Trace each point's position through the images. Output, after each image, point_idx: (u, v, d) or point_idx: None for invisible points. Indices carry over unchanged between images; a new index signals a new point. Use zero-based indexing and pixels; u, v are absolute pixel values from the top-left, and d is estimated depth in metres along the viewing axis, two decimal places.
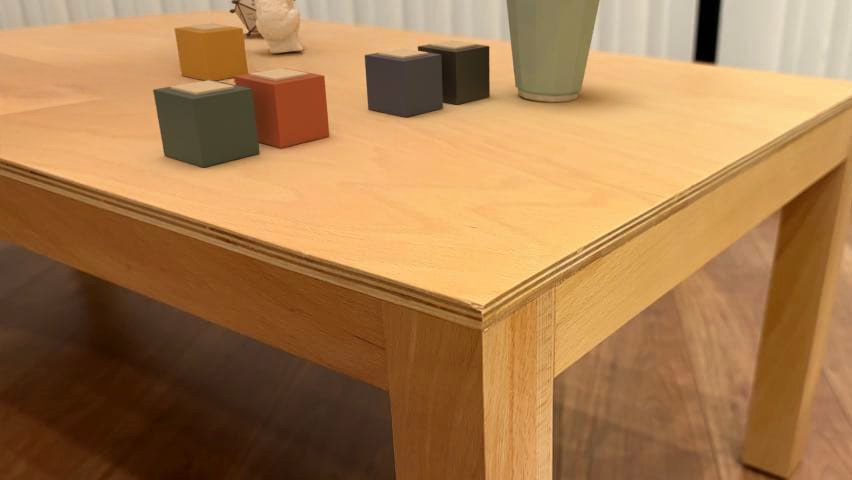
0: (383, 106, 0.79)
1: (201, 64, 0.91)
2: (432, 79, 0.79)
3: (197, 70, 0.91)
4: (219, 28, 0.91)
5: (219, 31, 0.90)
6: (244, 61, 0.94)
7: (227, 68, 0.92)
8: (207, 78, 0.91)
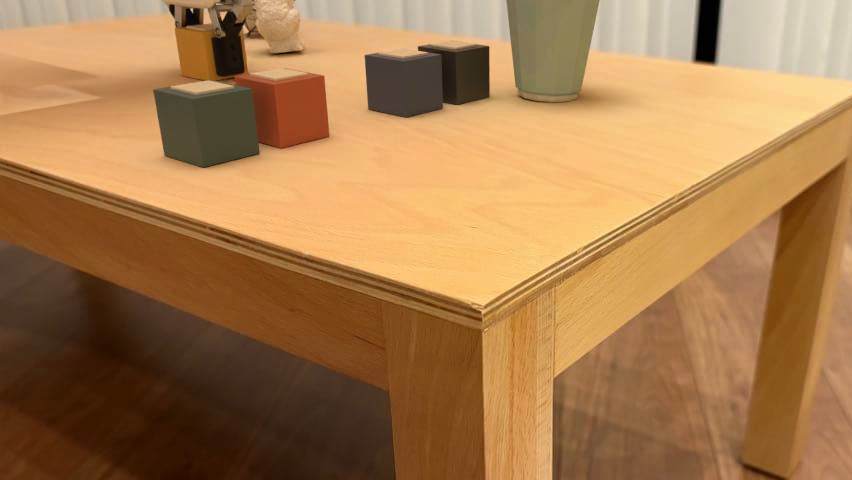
0: (383, 106, 0.79)
1: (201, 64, 0.91)
2: (432, 79, 0.79)
3: (197, 70, 0.91)
4: None
5: None
6: (244, 61, 0.94)
7: None
8: (207, 78, 0.91)
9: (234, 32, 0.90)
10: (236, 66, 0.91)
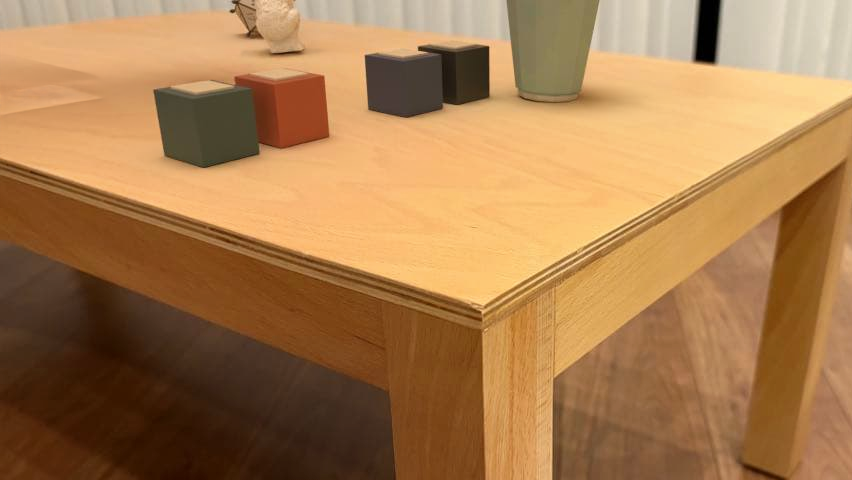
0: (383, 106, 0.79)
1: None
2: (432, 79, 0.79)
3: None
4: None
5: None
6: None
7: None
8: None
9: None
10: None
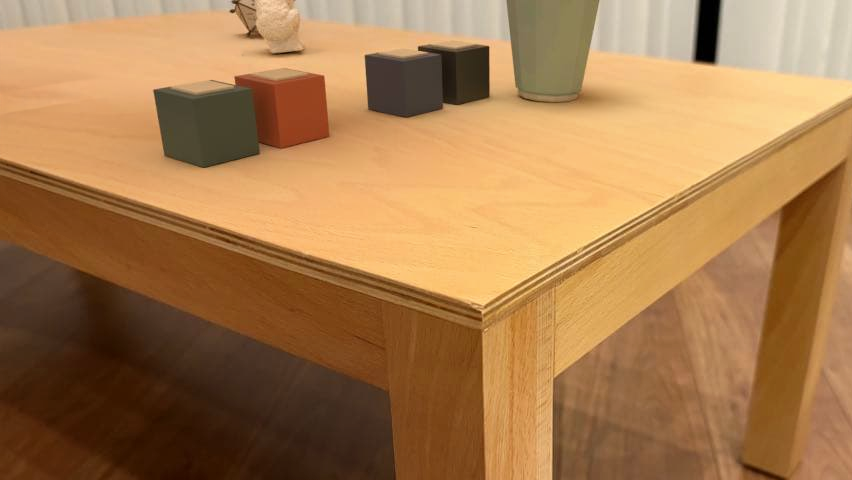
0: (383, 106, 0.79)
1: None
2: (432, 79, 0.79)
3: None
4: None
5: None
6: None
7: None
8: None
9: None
10: None
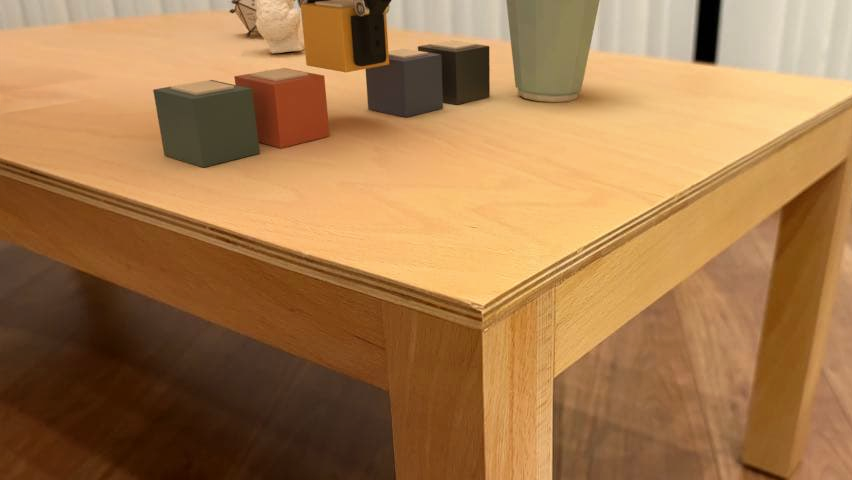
0: (383, 106, 0.79)
1: (336, 50, 0.71)
2: (432, 79, 0.79)
3: (329, 58, 0.71)
4: None
5: None
6: None
7: None
8: (344, 68, 0.71)
9: (380, 9, 0.70)
10: (379, 53, 0.71)
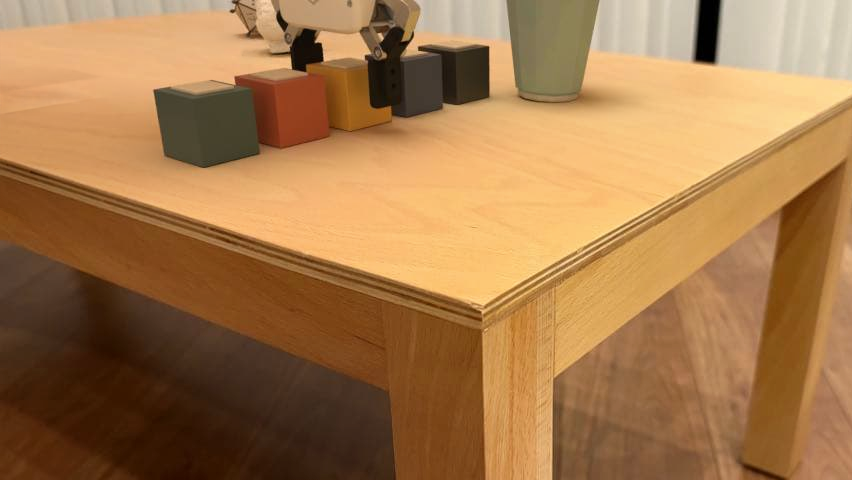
0: None
1: (341, 109, 0.73)
2: (432, 79, 0.79)
3: (334, 117, 0.74)
4: (362, 65, 0.73)
5: (364, 69, 0.72)
6: None
7: (370, 114, 0.74)
8: (348, 127, 0.73)
9: None
10: (395, 95, 0.72)
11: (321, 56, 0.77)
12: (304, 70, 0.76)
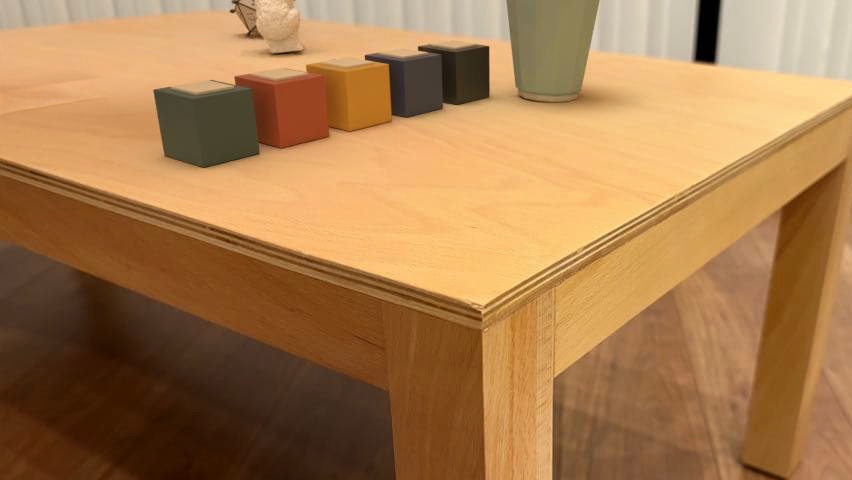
0: None
1: (341, 109, 0.73)
2: (432, 79, 0.79)
3: (334, 117, 0.74)
4: (362, 65, 0.73)
5: (364, 69, 0.72)
6: (388, 104, 0.76)
7: (370, 114, 0.74)
8: (348, 127, 0.73)
9: None
10: None
11: None
12: None
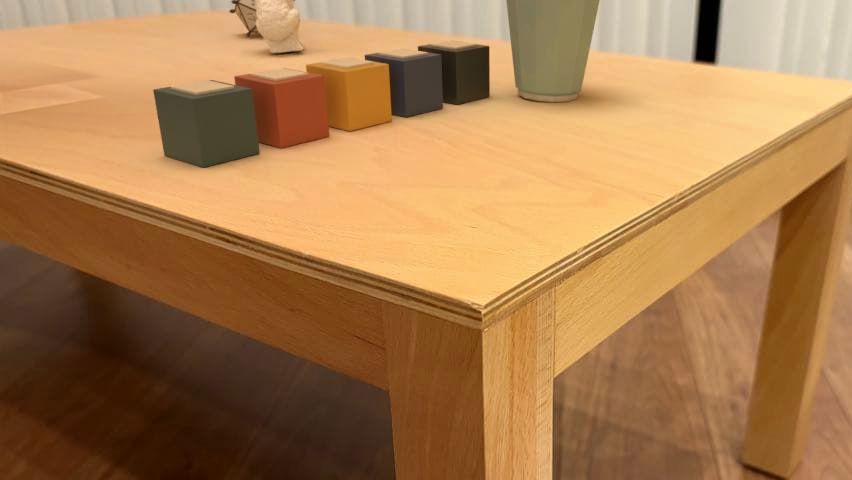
0: None
1: (341, 109, 0.73)
2: (432, 79, 0.79)
3: (334, 117, 0.74)
4: (362, 65, 0.73)
5: (364, 69, 0.72)
6: (388, 104, 0.76)
7: (370, 114, 0.74)
8: (348, 127, 0.73)
9: None
10: None
11: None
12: None
